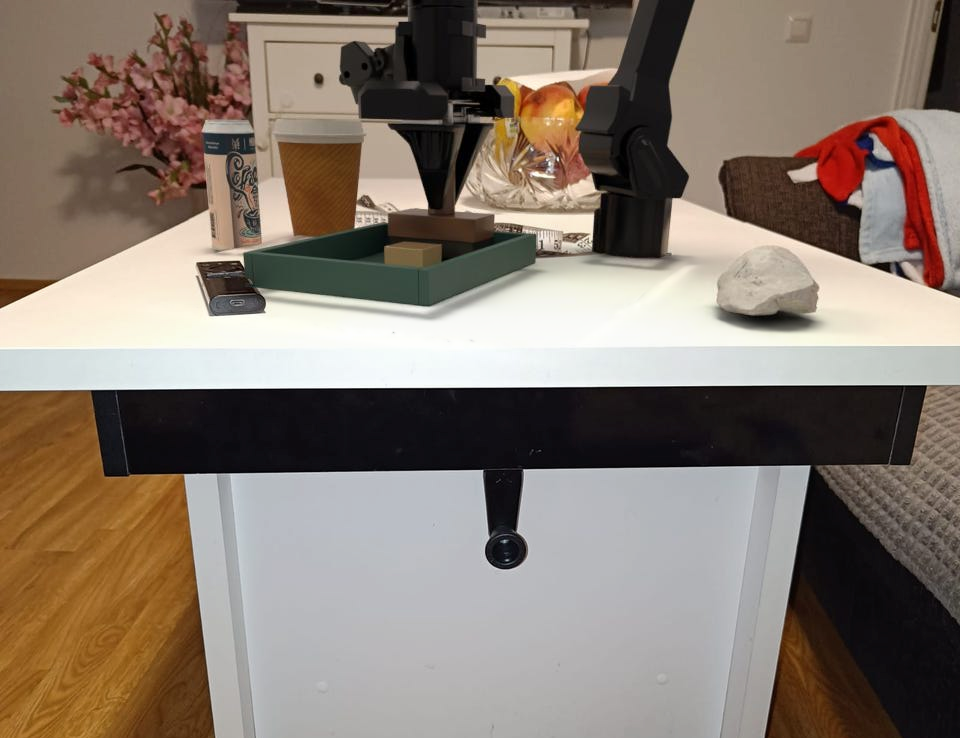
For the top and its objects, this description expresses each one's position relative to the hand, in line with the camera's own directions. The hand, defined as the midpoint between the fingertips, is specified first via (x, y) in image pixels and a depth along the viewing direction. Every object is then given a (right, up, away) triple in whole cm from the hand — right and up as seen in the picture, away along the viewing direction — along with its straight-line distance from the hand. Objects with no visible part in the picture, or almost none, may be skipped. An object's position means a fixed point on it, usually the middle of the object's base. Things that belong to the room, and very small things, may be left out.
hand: (442, 207), depth 82 cm
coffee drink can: (-21, -2, +10) cm, 23 cm away
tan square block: (-2, -6, -3) cm, 7 cm away
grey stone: (+24, -12, -14) cm, 30 cm away
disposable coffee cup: (-13, +2, +18) cm, 22 cm away
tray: (-3, -8, -4) cm, 9 cm away
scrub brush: (0, -4, +2) cm, 4 cm away
